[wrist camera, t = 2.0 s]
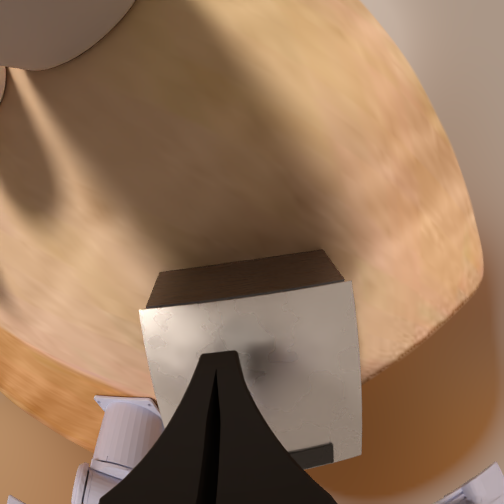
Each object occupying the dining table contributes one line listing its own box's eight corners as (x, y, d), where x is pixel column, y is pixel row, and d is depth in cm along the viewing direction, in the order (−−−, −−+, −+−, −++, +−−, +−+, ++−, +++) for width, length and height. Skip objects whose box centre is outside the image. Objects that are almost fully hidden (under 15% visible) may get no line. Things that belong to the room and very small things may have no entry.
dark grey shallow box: (318, 360, 25) (330, 394, 21) (196, 377, 24) (194, 413, 21) (322, 249, 20) (344, 279, 16) (159, 272, 19) (145, 306, 15)
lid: (356, 447, 14) (362, 455, 13) (184, 471, 14) (181, 480, 13) (345, 280, 16) (352, 280, 14) (145, 308, 15) (137, 310, 14)
